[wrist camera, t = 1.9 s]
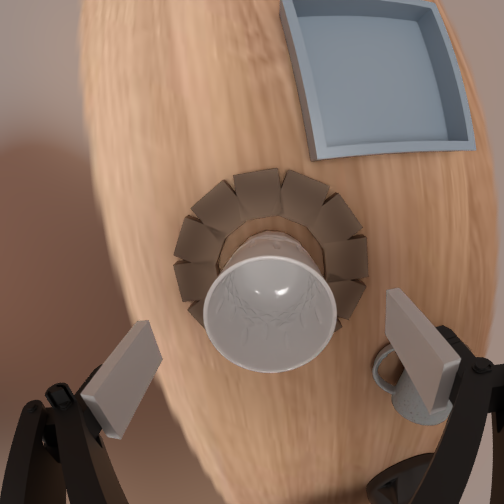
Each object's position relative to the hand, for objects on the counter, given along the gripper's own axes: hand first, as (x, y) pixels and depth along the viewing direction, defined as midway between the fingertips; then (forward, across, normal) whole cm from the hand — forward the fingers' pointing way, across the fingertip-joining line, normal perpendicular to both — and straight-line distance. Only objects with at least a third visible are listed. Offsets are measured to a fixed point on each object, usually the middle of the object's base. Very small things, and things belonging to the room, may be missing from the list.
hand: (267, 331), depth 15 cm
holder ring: (+12, 0, 0) cm, 12 cm away
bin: (+12, -12, -16) cm, 23 cm away
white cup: (+12, 0, 0) cm, 12 cm away
